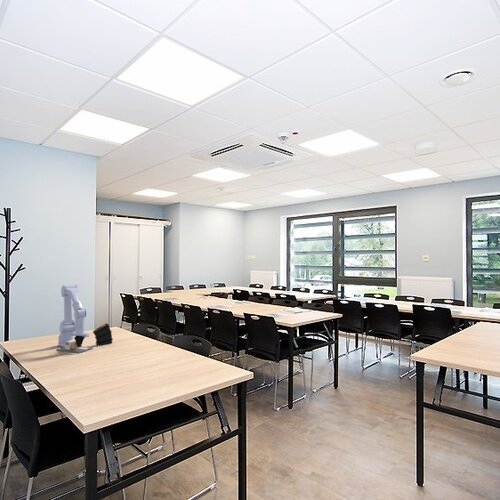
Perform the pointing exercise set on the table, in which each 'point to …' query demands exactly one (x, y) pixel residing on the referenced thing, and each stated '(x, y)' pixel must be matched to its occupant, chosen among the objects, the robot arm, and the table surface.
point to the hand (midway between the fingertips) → (79, 346)
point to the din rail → (76, 350)
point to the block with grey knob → (74, 345)
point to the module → (69, 344)
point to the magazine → (103, 335)
